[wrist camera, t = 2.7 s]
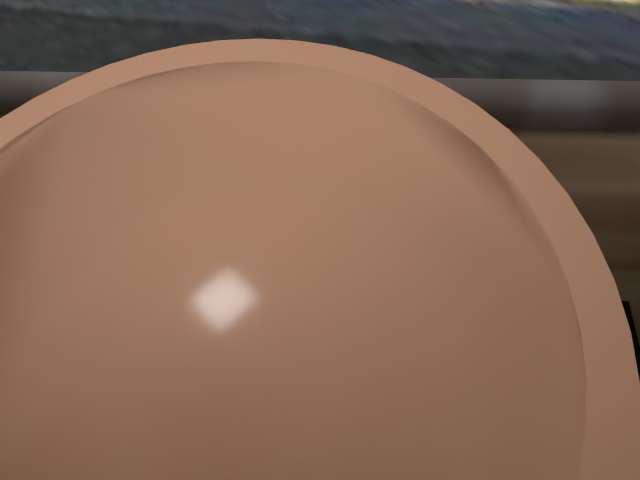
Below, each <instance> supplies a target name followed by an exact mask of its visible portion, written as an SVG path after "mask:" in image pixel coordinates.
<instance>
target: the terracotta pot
mask: <svg viewBox="0 0 640 480" xmlns="http://www.w3.org/2000/svg"><path fill="white" fill-rule="evenodd" d="M0 480H640V382H639V376H638V370H637V364H636V358H635V352H634V346H633V341H632V335H631V331H630V327H629V324H628V321H627V318H626V315H625V311H624V308H623V305H622V302H621V299H620V295H619V292H618V289H617V286H616V283H615V280H614V278H613V275H612V273H611V271H610V269H609V267H608V265H607V262H606V260H605V258H604V256H603V254H602V252H601V250H600V247H599V245H598V243H597V241H596V239H595V237H594V234H593V233H592V231H591V230H590V228H589V226H588V225H587V223H586V222H585V220H584V218H583V217H582V215H581V214H580V212H579V211H578V209H577V207H576V206H575V204H574V203H573V201H572V199H571V198H570V196H569V195H568V193H567V192H566V191H565V190H564V188H563V187H562V186H561V185H560V183H559V182H558V181H557V180H556V179H555V177H554V176H553V175H552V174H551V172H550V171H549V170H548V169H547V167H546V166H545V165H544V164H543V163H542V161H541V160H540V159H539V158H538V157H537V156H536V155H535V154H534V153H533V152H532V151H531V150H530V149H529V148H528V147H527V146H526V145H525V144H523V143H522V142H521V141H520V140H519V139H518V138H517V137H516V136H515V135H514V134H513V133H512V132H511V131H510V130H509V129H508V128H506V127H505V126H504V125H503V124H501V123H500V122H499V121H497V120H496V119H495V118H493V117H492V116H491V115H489V114H488V113H487V112H486V111H484V110H483V109H482V108H480V107H479V106H478V105H476V104H475V103H473V102H472V101H470V100H468V99H467V98H465V97H463V96H462V95H460V94H458V93H457V92H455V91H453V90H452V89H450V88H448V87H447V86H445V85H443V84H442V83H439V82H437V81H435V80H433V79H431V78H429V77H427V76H424V75H422V74H420V73H418V72H416V71H414V70H412V69H409V68H407V67H405V66H402V65H399V64H396V63H393V62H390V61H387V60H384V59H382V58H379V57H376V56H373V55H370V54H366V53H362V52H357V51H353V50H349V49H345V48H341V47H336V46H331V45H324V44H317V43H310V42H303V41H295V40H274V39H242V40H220V41H212V42H205V43H197V44H189V45H182V46H178V47H173V48H168V49H164V50H159V51H154V52H150V53H145V54H142V55H139V56H136V57H132V58H129V59H126V60H122V61H119V62H116V63H113V64H109V65H107V66H104V67H102V68H99V69H97V70H94V71H92V72H89V73H86V74H84V75H81V76H79V77H76V78H74V79H71V80H69V81H67V82H65V83H63V84H61V85H59V86H57V87H55V88H53V89H51V90H49V91H47V92H45V93H43V94H41V95H39V96H37V97H35V98H33V99H32V100H30V101H28V102H27V103H25V104H23V105H22V106H20V107H18V108H17V109H15V110H13V111H12V112H10V113H8V114H7V115H5V116H3V117H2V118H0Z"/></svg>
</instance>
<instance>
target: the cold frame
mask: <svg viewBox="0 0 640 480" xmlns="http://www.w3.org/2000/svg"><path fill="white" fill-rule="evenodd" d="M84 74H86V72H24V71H0V118H2V117H3V116H5V115H7V114H8V113H10V112H12V111H13V110H15V109H17V108H18V107H20V106H22V105H23V104H25V103H27V102H28V101H30V100H32V99H33V98H35V97H37V96H39V95H41V94H43V93H45V92H47V91H49V90H51V89H53V88H55V87H57V86H59V85H61V84H63V83H65V82H67V81H69V80H71V79H74V78H76V77H79V76H81V75H84ZM431 79H433V80H435V81H437V82H439V83H442V84H443V85H445V86H447V87H448V88H450V89H452V90H453V91H455V92H457V93H458V94H460V95H462V96H463V97H465V98H467V99H468V100H470V101H472V102H473V103H475V104H476V105H478V106H479V107H480V108H482V109H483V110H484V111H486V112H487V113H488V114H489V115H491V116H492V117H493V118H495V119H496V120H497V121H499V122H500V123H501V124H503V125H504V126H505V127H506V128H508V129H509V130H510V131H511V132H512V133H513V134H514V135H515V136H516V137H517V138H518V139H519V140H520V141H521V142H522V143H523V144H525V145H526V146H527V147H528V148H529V149H530V150H531V151H532V152H533V153H534V154H535V155H536V156H537V157H538V158H539V159H540V160H541V161H542V163H543V164H544V165H545V166H546V167H547V169H548V170H549V171H550V172H551V174H552V175H553V176H554V177H555V179H556V180H557V181H558V182H559V183H560V185H561V186H562V187H563V188H564V190H565V191H566V192H567V193H568V195H569V196H570V198H571V199H572V201H573V203H574V204H575V206H576V207H577V209H578V211H579V212H580V214H581V215H582V217H583V218H584V220H585V222H586V223H587V225H588V226H589V228H590V230H591V231H592V233H593V234H594V237H595V239H596V241H597V243H598V245H599V247H600V250H601V252H602V254H603V256H604V258H605V260H606V262H607V265H608V267H609V269H610V271H611V273H612V275H613V278H614V280H615V283H616V286H617V289H618V292H619V295H620V299H621V301H629V305H630V309H631V313H632V318H633V322H634V326H635V330H636V334H637V339H638V343H639V347H640V81H587V80H524V79H462V78H431Z"/></svg>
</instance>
